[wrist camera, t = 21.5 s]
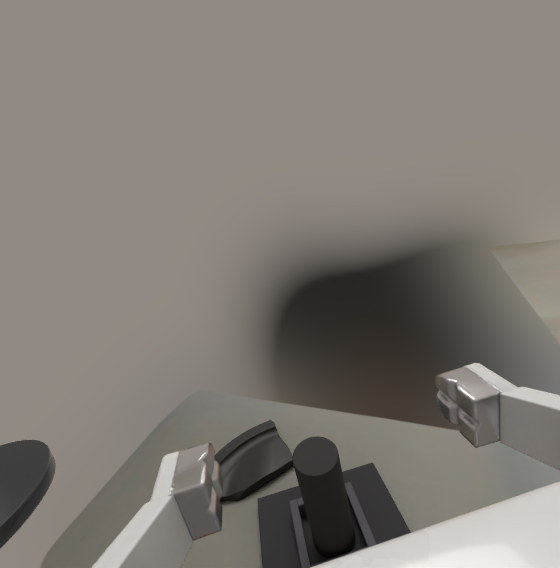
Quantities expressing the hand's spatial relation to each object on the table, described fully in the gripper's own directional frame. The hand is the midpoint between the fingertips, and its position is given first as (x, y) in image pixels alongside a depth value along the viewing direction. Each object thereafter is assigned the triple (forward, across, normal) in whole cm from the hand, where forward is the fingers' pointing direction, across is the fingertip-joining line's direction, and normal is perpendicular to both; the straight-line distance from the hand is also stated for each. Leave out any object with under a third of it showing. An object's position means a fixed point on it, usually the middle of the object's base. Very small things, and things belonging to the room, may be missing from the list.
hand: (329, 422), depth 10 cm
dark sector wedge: (+24, +8, +25) cm, 36 cm away
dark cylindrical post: (+12, 0, +24) cm, 27 cm away
